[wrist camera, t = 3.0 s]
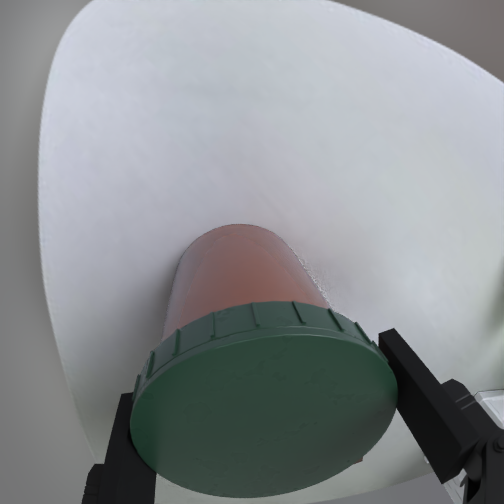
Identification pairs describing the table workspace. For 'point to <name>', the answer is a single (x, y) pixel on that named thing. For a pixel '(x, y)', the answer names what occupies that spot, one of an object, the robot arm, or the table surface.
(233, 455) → the lid
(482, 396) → the castle model
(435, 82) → the table surface
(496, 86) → the table surface
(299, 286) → the jar
